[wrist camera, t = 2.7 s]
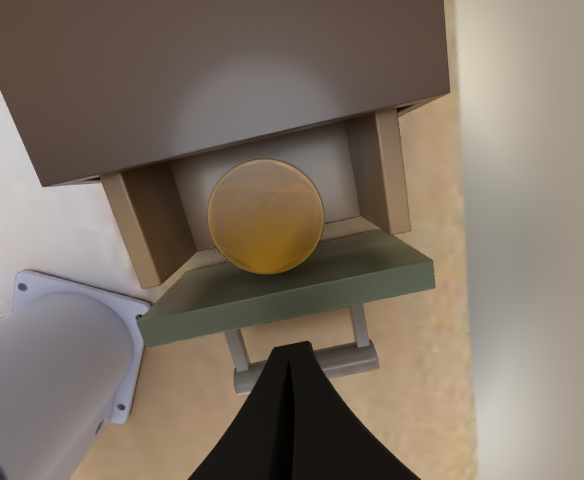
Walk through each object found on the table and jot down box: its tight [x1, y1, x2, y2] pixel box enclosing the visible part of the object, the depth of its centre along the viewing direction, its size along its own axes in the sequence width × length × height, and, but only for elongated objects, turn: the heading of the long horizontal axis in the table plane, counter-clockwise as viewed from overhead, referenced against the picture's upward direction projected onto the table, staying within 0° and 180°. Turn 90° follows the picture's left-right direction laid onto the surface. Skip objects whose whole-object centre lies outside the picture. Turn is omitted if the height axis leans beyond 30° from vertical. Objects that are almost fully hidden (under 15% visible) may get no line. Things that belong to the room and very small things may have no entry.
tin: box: [207, 158, 324, 274], centre depth 13 cm, size 4×4×4 cm
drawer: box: [100, 108, 435, 396], centre depth 13 cm, size 17×12×6 cm
